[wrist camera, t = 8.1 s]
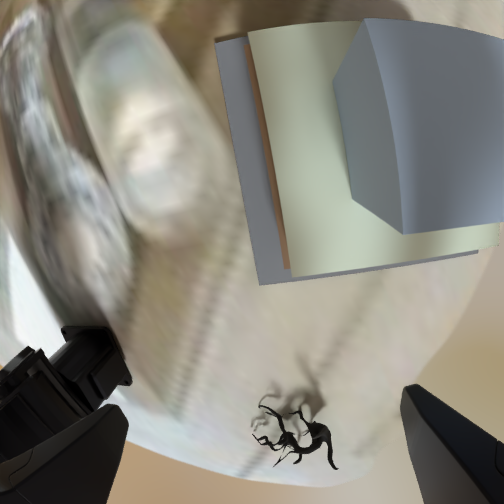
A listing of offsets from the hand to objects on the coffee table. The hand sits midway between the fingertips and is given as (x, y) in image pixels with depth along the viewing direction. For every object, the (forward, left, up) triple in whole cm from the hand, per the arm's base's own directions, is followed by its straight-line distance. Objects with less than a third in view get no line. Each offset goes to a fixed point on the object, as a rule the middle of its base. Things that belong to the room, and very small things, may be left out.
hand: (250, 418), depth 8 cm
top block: (+7, +7, -6) cm, 12 cm away
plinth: (+7, +7, -13) cm, 16 cm away
